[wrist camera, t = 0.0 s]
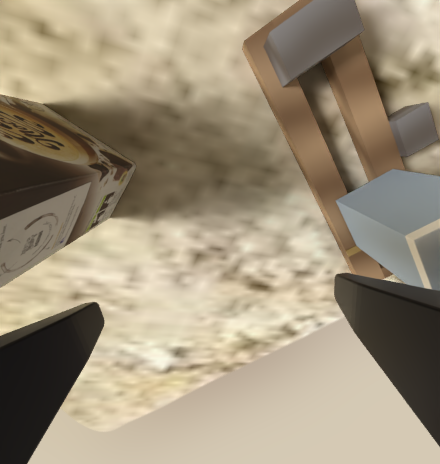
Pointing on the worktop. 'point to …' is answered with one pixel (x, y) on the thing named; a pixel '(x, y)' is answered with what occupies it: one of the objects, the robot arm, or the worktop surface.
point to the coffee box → (50, 184)
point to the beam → (349, 101)
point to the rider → (398, 224)
